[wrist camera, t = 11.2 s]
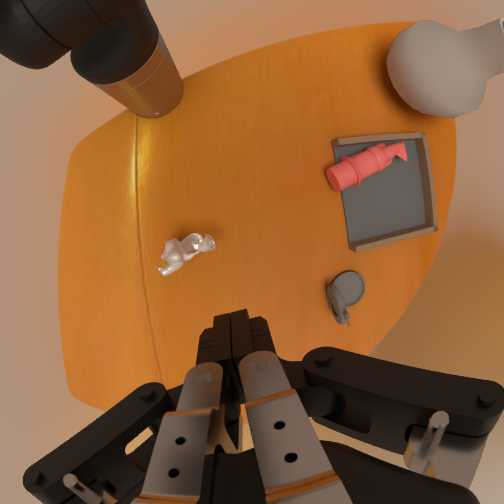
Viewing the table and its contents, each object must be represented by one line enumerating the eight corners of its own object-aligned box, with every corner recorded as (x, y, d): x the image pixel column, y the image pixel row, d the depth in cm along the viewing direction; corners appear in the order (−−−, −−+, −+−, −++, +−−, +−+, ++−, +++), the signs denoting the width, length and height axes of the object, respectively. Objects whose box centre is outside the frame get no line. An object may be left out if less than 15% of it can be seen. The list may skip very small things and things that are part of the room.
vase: (378, 123, 41) (506, 90, 14) (357, 42, 37) (449, -35, 9) (443, 126, 41) (555, 115, 14) (424, 53, 37) (518, 12, 10)
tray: (331, 141, 41) (337, 138, 38) (415, 134, 41) (425, 132, 38) (349, 248, 45) (356, 252, 43) (428, 227, 46) (437, 230, 43)
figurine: (156, 246, 43) (132, 269, 31) (202, 212, 42) (193, 223, 31) (174, 270, 44) (157, 300, 32) (220, 237, 43) (218, 258, 32)
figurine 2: (335, 196, 43) (402, 161, 42) (346, 195, 38) (418, 158, 37) (320, 167, 42) (390, 135, 41) (330, 163, 37) (405, 128, 36)
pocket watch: (369, 284, 48) (397, 306, 38) (338, 318, 49) (360, 347, 39) (341, 257, 46) (367, 276, 36) (308, 294, 47) (327, 321, 37)
